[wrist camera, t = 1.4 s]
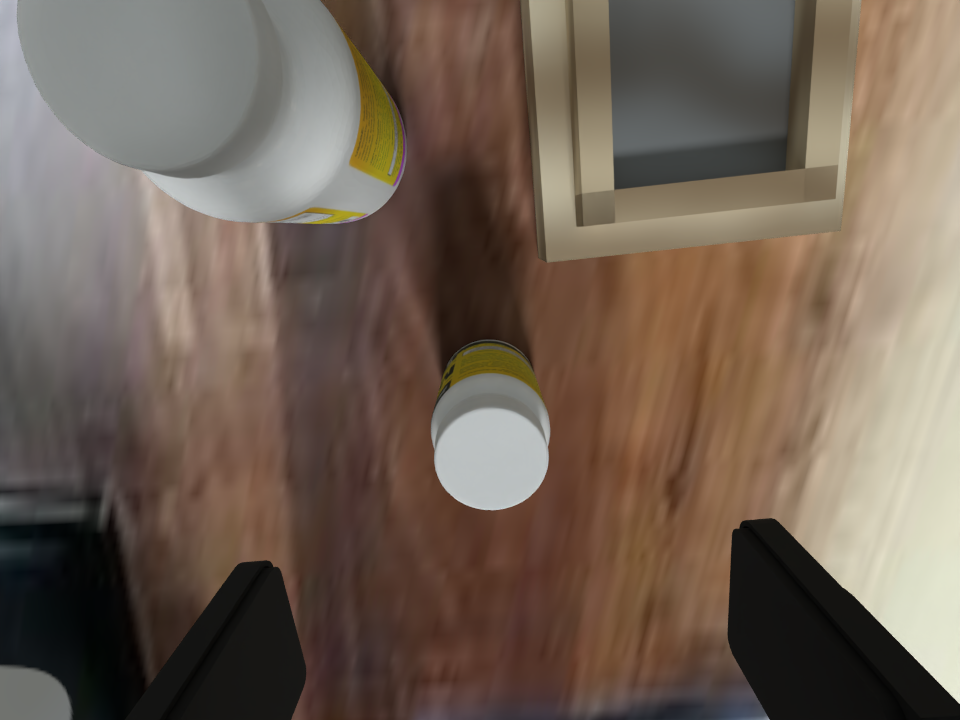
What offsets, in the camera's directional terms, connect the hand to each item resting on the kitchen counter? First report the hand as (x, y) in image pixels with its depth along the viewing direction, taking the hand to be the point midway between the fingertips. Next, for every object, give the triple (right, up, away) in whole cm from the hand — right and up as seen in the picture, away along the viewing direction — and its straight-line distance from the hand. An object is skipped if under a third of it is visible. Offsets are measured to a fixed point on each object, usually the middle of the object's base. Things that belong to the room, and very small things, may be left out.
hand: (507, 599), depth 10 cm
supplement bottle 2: (0, +4, +15) cm, 15 cm away
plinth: (+8, +16, +11) cm, 21 cm away
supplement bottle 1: (-7, +15, +12) cm, 20 cm away
